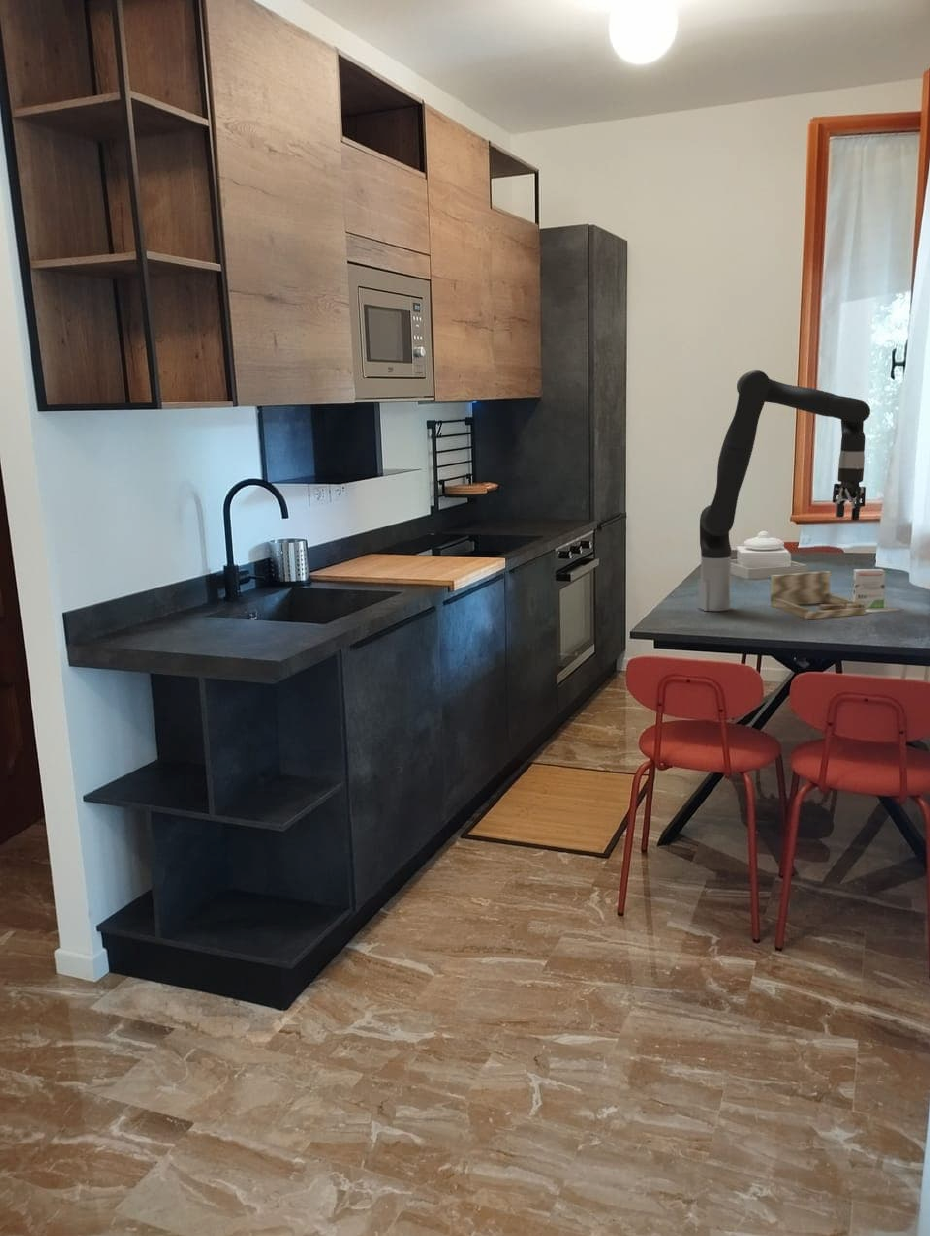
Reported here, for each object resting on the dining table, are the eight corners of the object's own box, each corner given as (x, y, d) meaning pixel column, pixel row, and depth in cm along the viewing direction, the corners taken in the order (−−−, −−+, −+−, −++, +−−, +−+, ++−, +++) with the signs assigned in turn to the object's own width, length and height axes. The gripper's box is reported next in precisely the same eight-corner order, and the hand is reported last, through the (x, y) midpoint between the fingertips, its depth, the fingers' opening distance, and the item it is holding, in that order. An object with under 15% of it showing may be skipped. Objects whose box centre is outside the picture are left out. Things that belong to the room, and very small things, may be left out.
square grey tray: (748, 579, 370) (748, 569, 369) (720, 570, 392) (720, 560, 391) (806, 575, 374) (806, 564, 373) (775, 566, 396) (775, 556, 396)
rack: (805, 619, 302) (807, 586, 300) (770, 606, 323) (771, 575, 321) (865, 614, 306) (867, 582, 304) (827, 601, 327) (828, 571, 325)
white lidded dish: (790, 576, 373) (791, 533, 370) (740, 576, 376) (741, 534, 373) (783, 568, 390) (784, 527, 387) (735, 568, 393) (736, 528, 390)
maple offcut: (849, 615, 306) (850, 605, 306) (845, 613, 309) (846, 604, 308) (858, 614, 307) (859, 604, 306) (854, 612, 309) (855, 603, 308)
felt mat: (863, 613, 307) (863, 612, 307) (838, 605, 320) (838, 604, 320) (899, 610, 309) (899, 609, 309) (872, 602, 323) (872, 601, 322)
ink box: (880, 605, 316) (882, 568, 314) (883, 608, 312) (885, 570, 309) (851, 605, 318) (853, 568, 316) (854, 608, 313) (856, 571, 311)
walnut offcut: (821, 610, 306) (821, 606, 305) (819, 609, 308) (819, 604, 307) (845, 610, 305) (845, 605, 305) (842, 608, 307) (843, 603, 307)
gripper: (827, 465, 314) (824, 516, 318) (853, 467, 300) (849, 521, 304) (849, 464, 316) (845, 516, 319) (875, 467, 302) (871, 521, 305)
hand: (847, 518), depth 311 cm, fingers open, 8 cm apart
